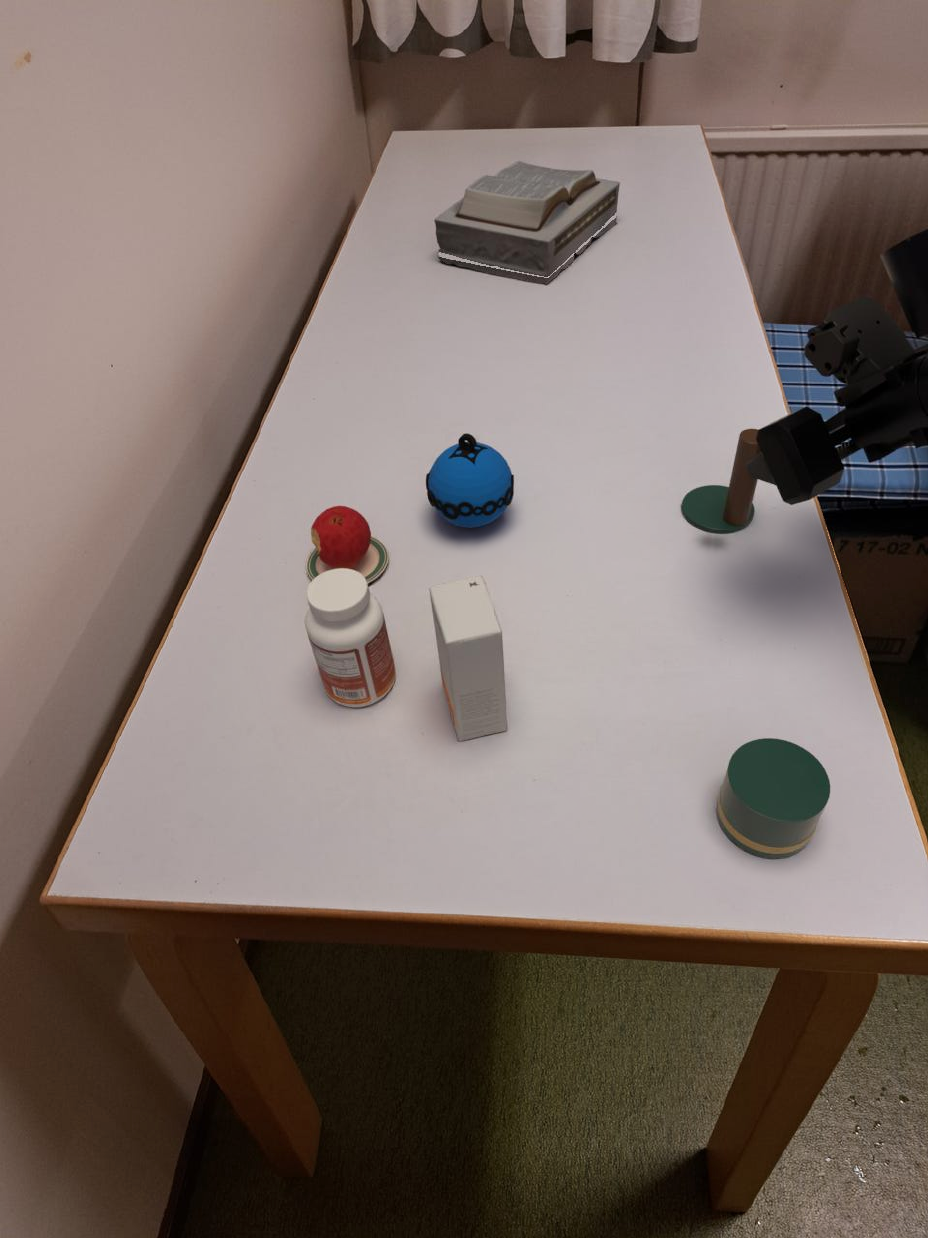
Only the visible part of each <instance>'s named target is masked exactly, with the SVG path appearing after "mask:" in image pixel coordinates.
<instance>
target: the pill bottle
mask: <svg viewBox="0 0 928 1238" xmlns="http://www.w3.org/2000/svg"><path fill="white" fill-rule="evenodd" d="M306 599H307V603H308V604H307V605H308V609H307V611H306V614H305V617H304V618H305V619H304V626H305V627H304V628H305V630H306V634H307V638H308V640H309V643H310V647H311V650H312V653H313V656H314V660H315V663H316V666H317V670H318V674H319V676H320V679H321V683H322V686H323V688H324V690H325V692H326V694H327V696H328V697H329V698H330V699H331V700H332V701H334V702H335V703H336V704H339V705H341V706H345V707H349V708H362V707H367V706H370V705H372V704H375V703H377V702H379V701H380V700H382V699H383V698H384V697H385V696H386V695H387V694H388V693H389V692H390V690H391V689H392V687H393V685H394V683H395V680H396V665H395V660H394V656H393V652H392V648H391V642H390V638H389V633H388V628H387V624H386V618H385V615H384V611H383V608H382V605H381V603H380V601H379V600H378V598H377V597H376V596H375V595H374V594H373V593H371V592H370V588H369V583H368V584H367V581H366V579H365V577H364V576H363V575H362V574H361V573H359V572H357V571H355V570H352V569H346V568H339V569H332V570H329V571H326V572H324V573H322V574H320V575H318V576H317V577H316V578H315V579H314V580H312V581H311V582H310V583H309V585H308V586H307V589H306Z"/></svg>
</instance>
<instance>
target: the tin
mask: <svg viewBox="0 0 928 1238" xmlns="http://www.w3.org/2000/svg"><path fill="white" fill-rule="evenodd" d="M830 797H831V781H830V778H829V775H828V772H827V771H826V769H825V767H824V766H823V764H822V763H821V761H819V759H818V758H817V757H816V756H815V755H814V754H812V753H811V752H810V751H808V750H807V749H805V748H804V747H802V746H800V745H799V744H797V743H795V742H792V741H788V740H785V739H781V738H771V737H770V738H769V737H767V738H766V737H765V738H764V737H763V738H757V739H753V740H750V741H748V742H746V743H744V744H742V745H740V747H738V748H737V749H736V750H735V751H734V753H733V754H732V755H731V757H730V759H729V761H728V764H727V768H726V772H725V775H724V779H723V782H722V785H721V786H720V790H719V794H718V796H717V803H716V816H717V821H718V823H719V826H720V828H721V829H722V831H723V833H724V834H725V836H726V837H727V838H728V839H729V840H730V841H731V842H732V843H733V844H734V845H736V846H737V847H738V848H739V849H740V850H742V851H743V852H746V853H748V854H750V855H753V856H756V857H759V858H764V859H771V860H773V859H774V860H775V859H776V860H777V859H786V858H789V857H792V856H795V855H796V854H798V853H799V852H801V851H802V850H804V849H805V847H806V846H807V845H808V844H809V842H810V840H811V839H812V837H813V836H814V834H815V832H816V830H817V827H818V825H819V821H820V819H821V817H822V815H823V813H824V811H825V809H826V806H827V804H828V802H829V800H830Z"/></svg>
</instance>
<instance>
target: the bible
mask: <svg viewBox="0 0 928 1238" xmlns="http://www.w3.org/2000/svg"><path fill="white" fill-rule="evenodd" d="M620 185H621V182H620V181H616V180H610V179H604V178H598V177H596V174H595V172H594V170H592V169H583V170H582V169H581V170H579V169H578V170H577V169H575V170H574V169H559V168H558V169H557V168H552V167H547V166H541V165H536V164H532V163H529V162H525V161H521V160H517V161H515V162H514V163H512V164H511V165H509V166H507V167H504V168H502V169H500V170H499V171H498V172H497V173H495V175H482V176H480V177H479V178H477V179H476V180H475V181H474V182H472V183H471V184H470V185H468V186H467V187H466V188H465V191H464V195H463V197H462V198H461V199H459V200H458V201H456V202H455V203H454V204H452V205H451V206H450V207H448V208H447V209H446V210H444V211H443V212H442V213H440V214H439V215H438V216H436V217H435V218H434V220H433V221H434V224H435V237H436V243H437V245H438V247H439V249H438V251H439V252H441V253H445V254H449V255H453V256H456V257H459V258H462V259H467V260H470V261H474V262H478V263H481V264H486V265H489V266H498V267H500V268H504V269H510V270H514V271H519V272H524V273H529V274H534V275H539V276H544V277H548V276H550V275H551V274H552V273H553V272H554V271H555V270H557V268H558V267H559V266H561V265H562V264H563V263H564V262H565V261H566V260H567V259H568V258H569V257H570V256H571V255H572V254H573V253H575V252H576V250H578V248H579V247H580V246H581V245H582V244H583V243H584V242H586V241H587V240H588V239H589V238H590V237H591V236H593V235H594V234H595V233H596V232H597V231H598V230H600V229H601V228H602V226H604V225H605V223H606V222H607V221H608V220H609V219H610V218H611V217H612V216H614V215H615V213H616V212H617V213H618V202H619V193H620ZM617 224H618V222H617V217H616V218H615V219H614V220H612V221H611V222H610V223H609V224H608V225H607V226H606V227H605V228H603V229H602V230H601V231H600V232H599V233H598V234H597V235H596V236H595V237H593V238H592V239H591V240H590V241H589V242H588V243H587V244H586V245H584V246H583V247H582V248H581V249H580V250H579V251H578V252H577V253H576V254H575V255H577V256H579V255H581V254H582V253H583V252H584V251H585V250H586V248H587V246H590V244H591V243H592V240H593V239H595V238H596V239H597V238H600V237H602V236H603V235H604V234H605V233H606V232H608V231H609V230H611V229H612V228H613V227H615V226H616V225H617ZM575 255H574V256H573V257H571V258H570V259H569V260H568V261H567V262H566V263H565V264H564V265H562V266H561V267H560V268H559V269H558V270H557V271H556V272H554V273H553V274H552V275H551V276H550V277H549V278H544V277H537V276H532V275H527V274H522V273H517V272H511V271H506V270H501V269H496V268H491V267H486V266H480V265H475V264H471V263H466V262H461V261H456V260H450V259H446V258H442V257H438V256H437V258H438V259H439V261H442V262H443V263H445V264H446V265H449V266H451V265H456V266H457V267H459V268H467V269H470V270H475V271H477V272H481V273H483V274H485V273H486V274H490V275H496V276H500V277H505V278H510V279H518V280H521V281H523V282H528V283H529V282H530V283H537V284H544V285H547V284H549V283H550V282H551V281H553V280H554V279H555V278H556V277H557V276H558V275H559V274H560V272H561V271H562V270H565V269H566V268H569V265H570V264H572V263H573V262H574V260H575Z"/></svg>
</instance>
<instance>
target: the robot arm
mask: <svg viewBox="0 0 928 1238" xmlns="http://www.w3.org/2000/svg"><path fill="white" fill-rule="evenodd" d="M880 258H881V261H882V264H883V266H884V268H885V271H886V273H887V276H888V278H889V280H890V282H891V285H892V288H893V290H894V292H895V295H896V297H897V299H898V301H899V305H900V306H901V308H902V311H903V314H904V316H905V318H906V320H907V323H908V326H909V327H910V330H911V332H912V333H914V335H915V337H916V339H920V338H922V337H924V336H926V335H928V228H927V229H924V230H922V231H920V232H917V233H915V234H914V235H911V236H909V237H907V238H905V239H904V240H903V239H902V241H899V242H898V243H896V244H894V245H893V246H891V247H890V248H888V249H887V250H885V251H884V252H882V253H881V254H880ZM806 336H807V338H808V340H807V343H806V344H805V346H804V348H803V353H804V356H805V358H806V359H807V361H808V362H809V363H810V364H811V365H812V366H813V367H814V369H815V370H816V371H817V373H818V374H819V375H820V376H822V377H824V378H825V377H826V378H829V377H831V376H834V377H835V379H836V380H837V381H839V382H840V383H841V384H844V386H842V387H840V388H838V389H836V390H833V394H834V398H836V399H835V400H836V402H837V404H838V406H839V407H840V408H843V407H844V408H843V409H841V410H839V411H838V412H837V413H836V414H834V415H833V416H831V417H829V418H828V419H826V420H824V418H823V416H822V414H821V413H820V412H818V411H816V410H815V409H813V408H811V407H808V406H804V407H802V408H799V409H797V410H795V411H793V412H791V413H789V414H786V415H784V416H782V417H781V418H778V419H776V420H775V421H772V422H771V423H769V424H767V425H765V426H762V427H761V428H759V429H758V432H757V436H756V441H757V444H758V446H759V448H760V450H761V453H760V454H758V455H757V456H756V457H755V458H753V459H752V460H751V461H750V462H748V463H747V464H746V465H745V467H746V469H747V472H748V474H749V476H750V477H753V478H756V479H758V481H761V482H765V483H768V484H771V485H773V486H776V489H777V490H778V492H779V495H780V497H781V500H782V501H783V503H786V504H788V505H790V506H793V505H796V504H797V505H798V504H800V503H804V502H808V501H810V500H812V499H814V498H816V497H817V496H819V495H821V494H822V493H825V492H826V491H828V490H830V489H832V488H834V487H835V486H837V485H838V484H840V483H841V481H842V478H843V475H844V472H845V466H844V464H843V460H845V459H847V458H849V457H850V456H852V455H854V454H856V453H857V452H859V451H861V450H863V453H864V454H865V457H866V459H867V460H868V463H869V464H872V463H875V462H877V461H880V460H882V459H884V458H886V457H887V456H889V455H892V454H893V453H894V452H896V451H898V450H900V449H903V448H907V447H909V446H913V445H914V447H915V449H918V448H921V447H926V446H928V343H926V344H923V345H922V346H919V347H917V348H914V347H913V346H912V344H911V343H910V342H909V340H908V339H907V335H906V333H905V331H904V330H903V329H902V327H900V325H899V324H898V323H897V322H896V321H895V320H894V319H893V318H892V317H891V315H889V313H888V312H887V311H886V310H885V309H884V307H883V306H881V304H880V303H879V301H877V300H876V299H874V298H872V297H870V296H860V297H858V298H856V299H853V300H852V301H849V302H847V303H845V304H843V305H841V306H838V307H835V308H834V309H833V310H832V311H830V313H829V314H828V316H826V318H825V319H823V320H822V321H821V322H820V323H819V324H817V325H815V326H813V327H811V328H809V329H808V331H806ZM840 444H841V445H840Z"/></svg>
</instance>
